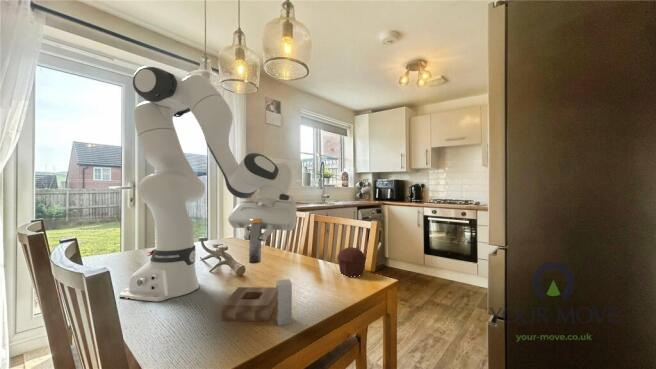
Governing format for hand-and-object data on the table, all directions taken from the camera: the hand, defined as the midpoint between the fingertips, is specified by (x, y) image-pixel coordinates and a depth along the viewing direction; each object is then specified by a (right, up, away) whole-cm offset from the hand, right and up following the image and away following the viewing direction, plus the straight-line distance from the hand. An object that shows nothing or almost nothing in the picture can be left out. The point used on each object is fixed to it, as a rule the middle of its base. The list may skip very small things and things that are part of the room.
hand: (254, 239), depth 74 cm
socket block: (-1, -20, 0) cm, 20 cm away
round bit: (0, -6, +1) cm, 6 cm away
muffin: (+30, -20, +30) cm, 47 cm away
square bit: (+9, -20, -6) cm, 23 cm away
